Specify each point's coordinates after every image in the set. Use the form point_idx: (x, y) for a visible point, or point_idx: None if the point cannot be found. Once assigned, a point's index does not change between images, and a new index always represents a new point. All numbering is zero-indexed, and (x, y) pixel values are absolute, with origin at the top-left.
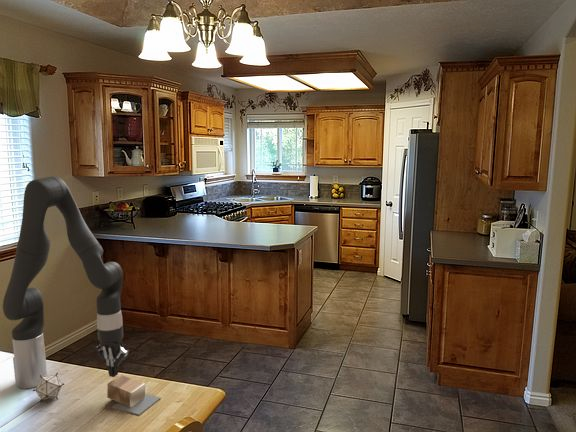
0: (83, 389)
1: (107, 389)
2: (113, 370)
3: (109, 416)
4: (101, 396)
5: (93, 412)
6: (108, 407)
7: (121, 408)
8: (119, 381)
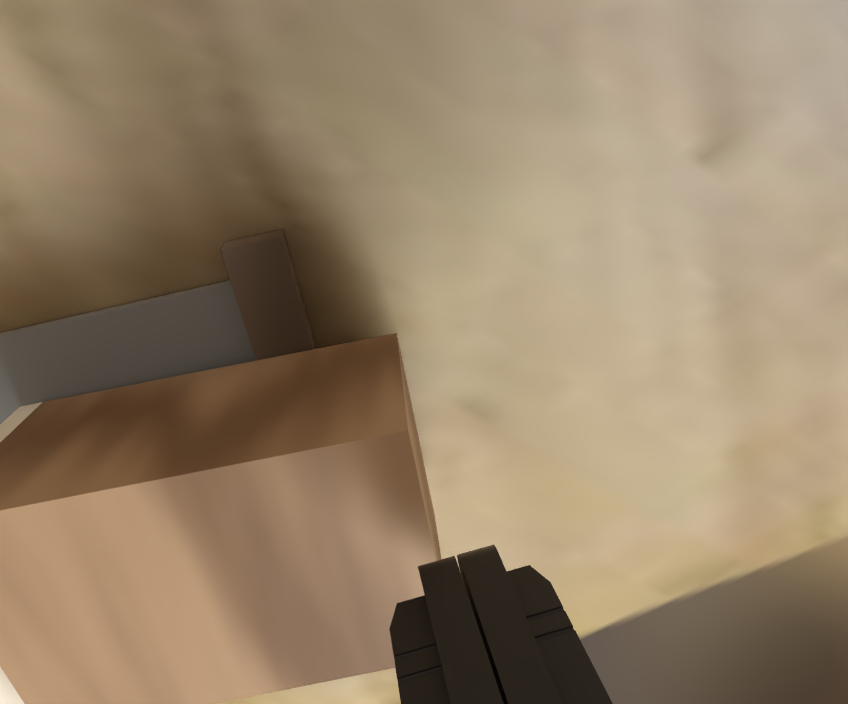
0: (809, 287)
1: (402, 381)
2: (436, 682)
3: (61, 151)
4: (537, 329)
5: (315, 83)
6: (232, 243)
7: (90, 327)
8: (323, 567)
